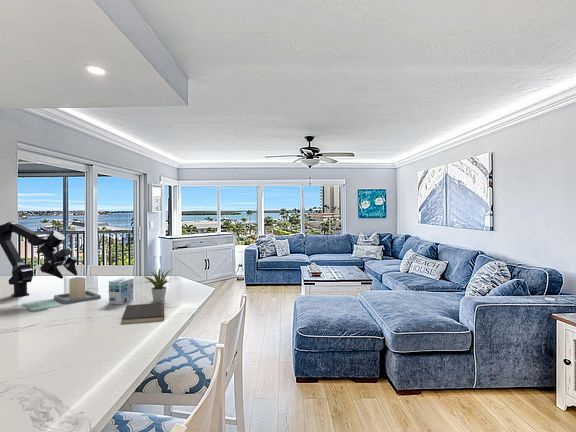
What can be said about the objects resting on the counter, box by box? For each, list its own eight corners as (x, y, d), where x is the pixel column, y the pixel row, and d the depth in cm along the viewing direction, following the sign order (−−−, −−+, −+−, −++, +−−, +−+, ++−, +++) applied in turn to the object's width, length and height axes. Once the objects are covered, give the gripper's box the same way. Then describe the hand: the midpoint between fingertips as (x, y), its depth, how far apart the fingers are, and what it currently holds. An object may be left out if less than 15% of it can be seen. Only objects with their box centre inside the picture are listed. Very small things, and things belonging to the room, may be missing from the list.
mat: (22, 305, 178) (22, 303, 178) (51, 301, 187) (51, 299, 187) (32, 311, 168) (32, 310, 168) (62, 306, 176) (62, 305, 176)
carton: (69, 299, 189) (69, 278, 189) (76, 296, 194) (76, 276, 194) (78, 299, 188) (78, 279, 188) (85, 297, 193) (85, 277, 193)
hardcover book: (121, 325, 152) (121, 319, 152) (126, 310, 174) (126, 305, 174) (164, 321, 157) (164, 316, 157) (164, 307, 179) (164, 302, 179)
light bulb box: (120, 304, 181) (120, 282, 181) (108, 304, 183) (108, 281, 183) (134, 299, 192) (134, 278, 192) (122, 298, 193) (122, 277, 193)
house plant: (165, 295, 202) (165, 264, 201) (181, 299, 193) (181, 266, 192) (139, 300, 191) (139, 267, 190) (155, 304, 182) (155, 270, 181)
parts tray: (54, 299, 191) (54, 295, 191) (88, 294, 203) (88, 290, 203) (65, 305, 180) (65, 300, 180) (100, 299, 192) (100, 295, 192)
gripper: (44, 244, 184) (64, 268, 182) (74, 241, 202) (93, 262, 200) (31, 260, 186) (50, 284, 183) (61, 255, 204) (80, 277, 202)
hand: (69, 276), depth 192 cm, fingers open, 9 cm apart
